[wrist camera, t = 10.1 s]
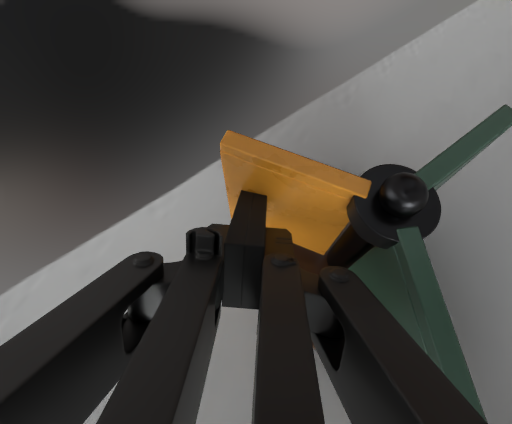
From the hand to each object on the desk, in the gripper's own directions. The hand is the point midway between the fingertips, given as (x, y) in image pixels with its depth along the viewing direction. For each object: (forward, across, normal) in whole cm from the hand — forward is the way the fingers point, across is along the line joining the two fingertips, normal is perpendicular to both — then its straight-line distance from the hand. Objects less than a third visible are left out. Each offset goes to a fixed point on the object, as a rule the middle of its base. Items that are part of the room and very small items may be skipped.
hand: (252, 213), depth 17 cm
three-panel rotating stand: (+2, +5, -5) cm, 7 cm away
